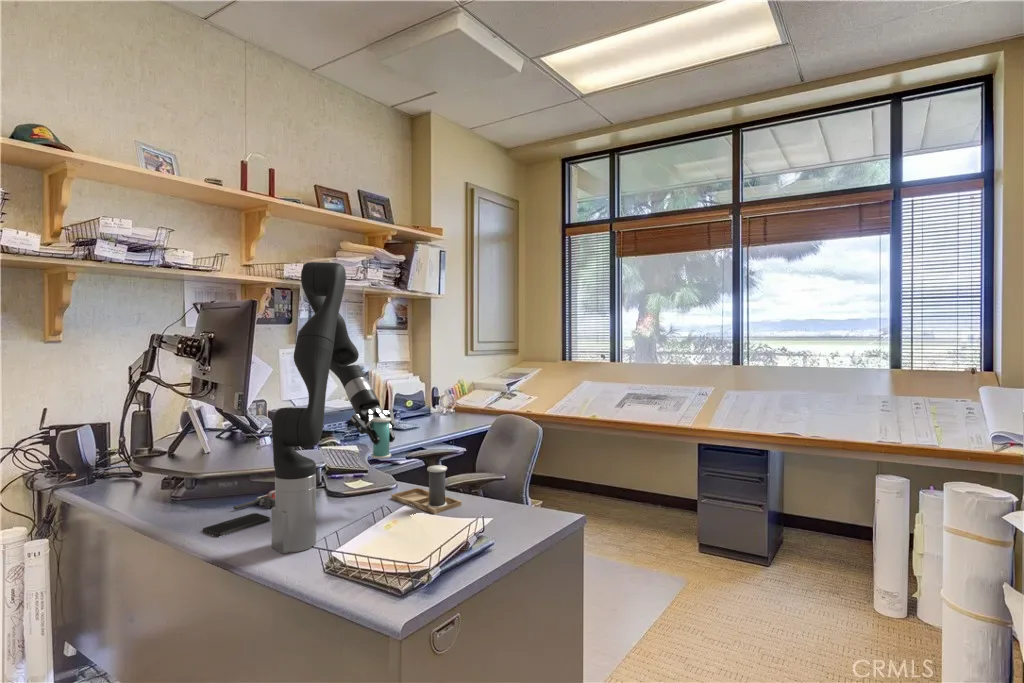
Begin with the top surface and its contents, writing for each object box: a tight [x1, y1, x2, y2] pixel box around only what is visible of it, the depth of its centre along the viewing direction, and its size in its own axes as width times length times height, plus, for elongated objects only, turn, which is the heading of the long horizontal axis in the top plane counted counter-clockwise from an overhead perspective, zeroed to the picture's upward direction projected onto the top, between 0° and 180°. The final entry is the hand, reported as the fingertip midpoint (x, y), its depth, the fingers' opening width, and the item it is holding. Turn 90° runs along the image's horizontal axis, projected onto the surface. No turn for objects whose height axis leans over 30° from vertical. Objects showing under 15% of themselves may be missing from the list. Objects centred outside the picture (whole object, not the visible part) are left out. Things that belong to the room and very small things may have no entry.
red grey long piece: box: [232, 489, 275, 510], centre depth 167 cm, size 9×4×20 cm
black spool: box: [426, 464, 448, 509], centre depth 162 cm, size 6×6×11 cm
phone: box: [202, 512, 271, 538], centre depth 149 cm, size 8×1×15 cm
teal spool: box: [370, 417, 392, 460], centre depth 163 cm, size 6×6×11 cm
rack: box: [390, 487, 463, 515], centre depth 166 cm, size 20×10×3 cm, turn 48°
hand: (385, 441), depth 162 cm, fingers closed on teal spool, 4 cm apart
